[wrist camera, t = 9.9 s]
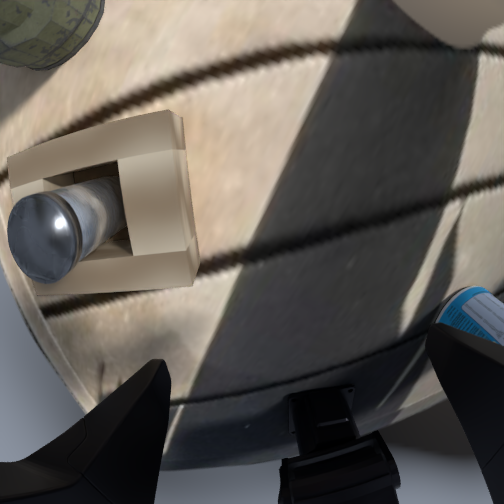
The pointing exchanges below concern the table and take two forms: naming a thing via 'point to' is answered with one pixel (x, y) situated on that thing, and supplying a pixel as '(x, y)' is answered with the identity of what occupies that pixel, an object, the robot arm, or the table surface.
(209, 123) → the table surface
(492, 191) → the table surface
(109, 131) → the block
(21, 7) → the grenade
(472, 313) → the beverage bottle
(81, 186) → the key peg
